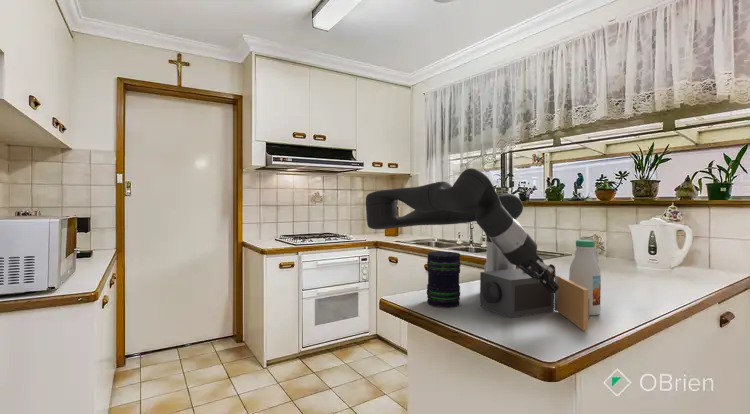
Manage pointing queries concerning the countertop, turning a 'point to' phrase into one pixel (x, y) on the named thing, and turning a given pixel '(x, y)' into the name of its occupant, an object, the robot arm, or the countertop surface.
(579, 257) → the milk bottle
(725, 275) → the countertop surface
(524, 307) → the camera body
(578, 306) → the side door
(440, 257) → the storage jar
